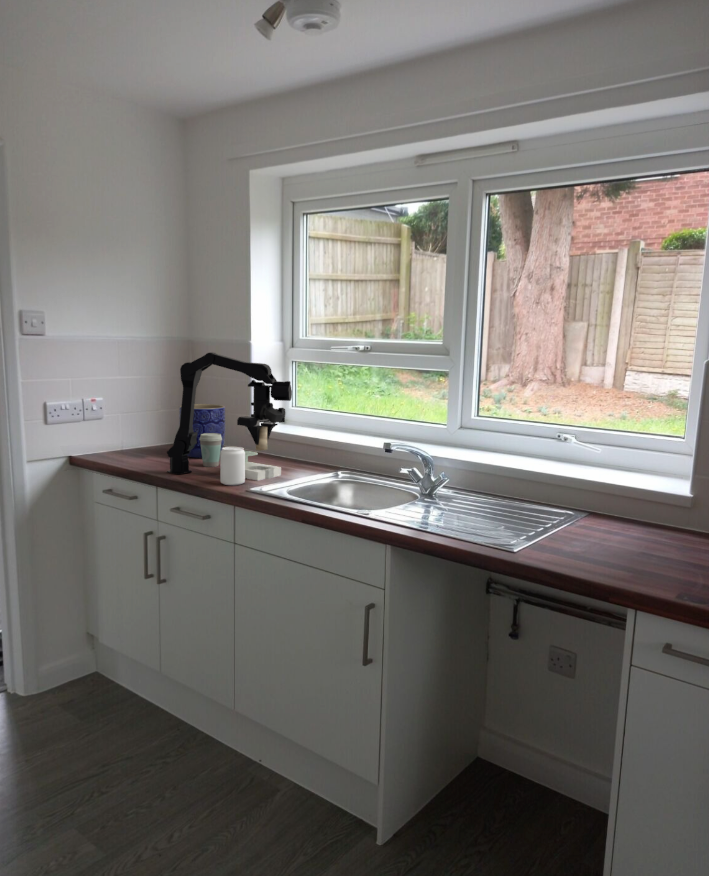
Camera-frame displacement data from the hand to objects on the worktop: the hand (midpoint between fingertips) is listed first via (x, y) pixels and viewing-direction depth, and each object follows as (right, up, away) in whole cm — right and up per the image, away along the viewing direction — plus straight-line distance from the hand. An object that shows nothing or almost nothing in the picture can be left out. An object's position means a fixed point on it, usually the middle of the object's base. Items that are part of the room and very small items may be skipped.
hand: (261, 444), depth 241 cm
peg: (0, -2, 0) cm, 2 cm away
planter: (-30, -6, +39) cm, 49 cm away
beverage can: (-8, -13, -11) cm, 19 cm away
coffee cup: (-22, -9, +19) cm, 30 cm away
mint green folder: (-9, -10, +9) cm, 16 cm away
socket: (-4, -11, +4) cm, 12 cm away
